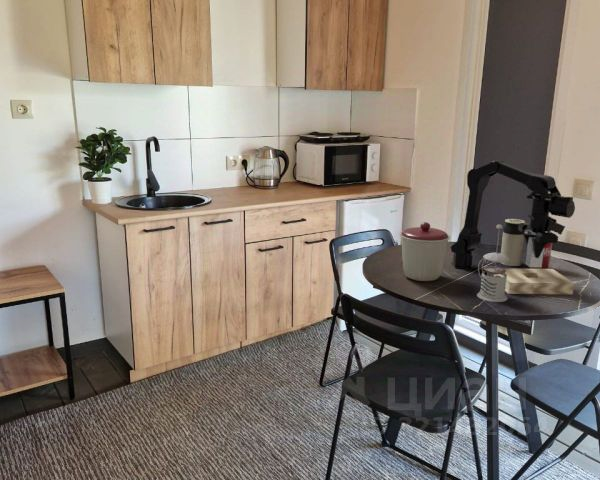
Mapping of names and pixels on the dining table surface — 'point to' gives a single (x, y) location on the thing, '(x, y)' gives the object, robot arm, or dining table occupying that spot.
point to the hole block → (536, 282)
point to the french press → (493, 277)
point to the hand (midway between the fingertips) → (534, 256)
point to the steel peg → (533, 255)
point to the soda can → (545, 257)
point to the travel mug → (512, 242)
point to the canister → (423, 252)
